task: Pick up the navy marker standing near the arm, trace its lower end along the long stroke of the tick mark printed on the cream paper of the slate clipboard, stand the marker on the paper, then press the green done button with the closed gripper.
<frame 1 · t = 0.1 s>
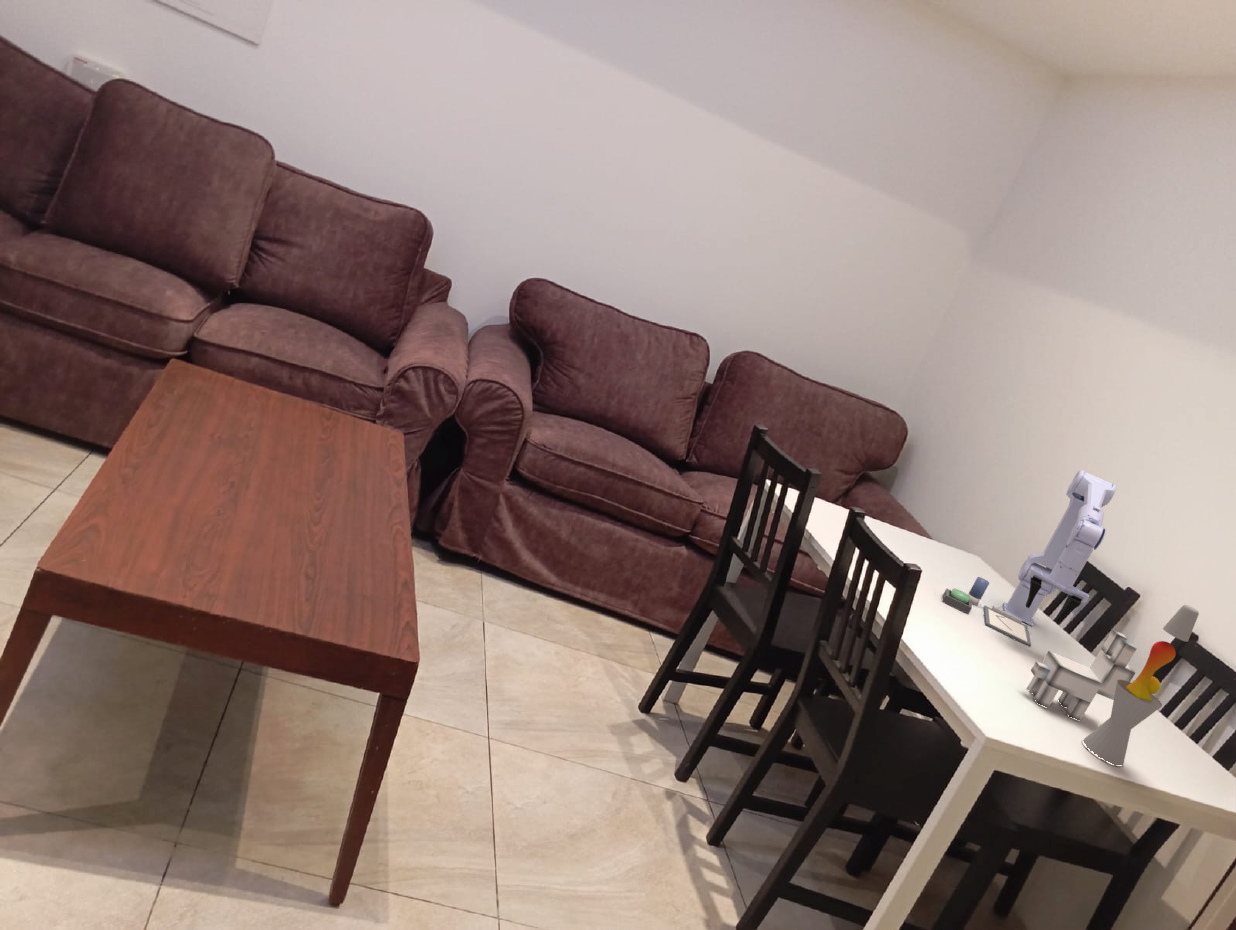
hand: (1042, 613, 254), 10 cm above the table, fingers open, 7 cm apart
lava lamp: (1101, 754, 210), on the table
done button: (959, 596, 268), point 2 cm above the table, slide at 0.0 cm
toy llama: (1057, 707, 226), on the table
marker: (971, 602, 277), on the table
clipboard: (1006, 626, 268), on the table
button housing: (955, 604, 269), on the table
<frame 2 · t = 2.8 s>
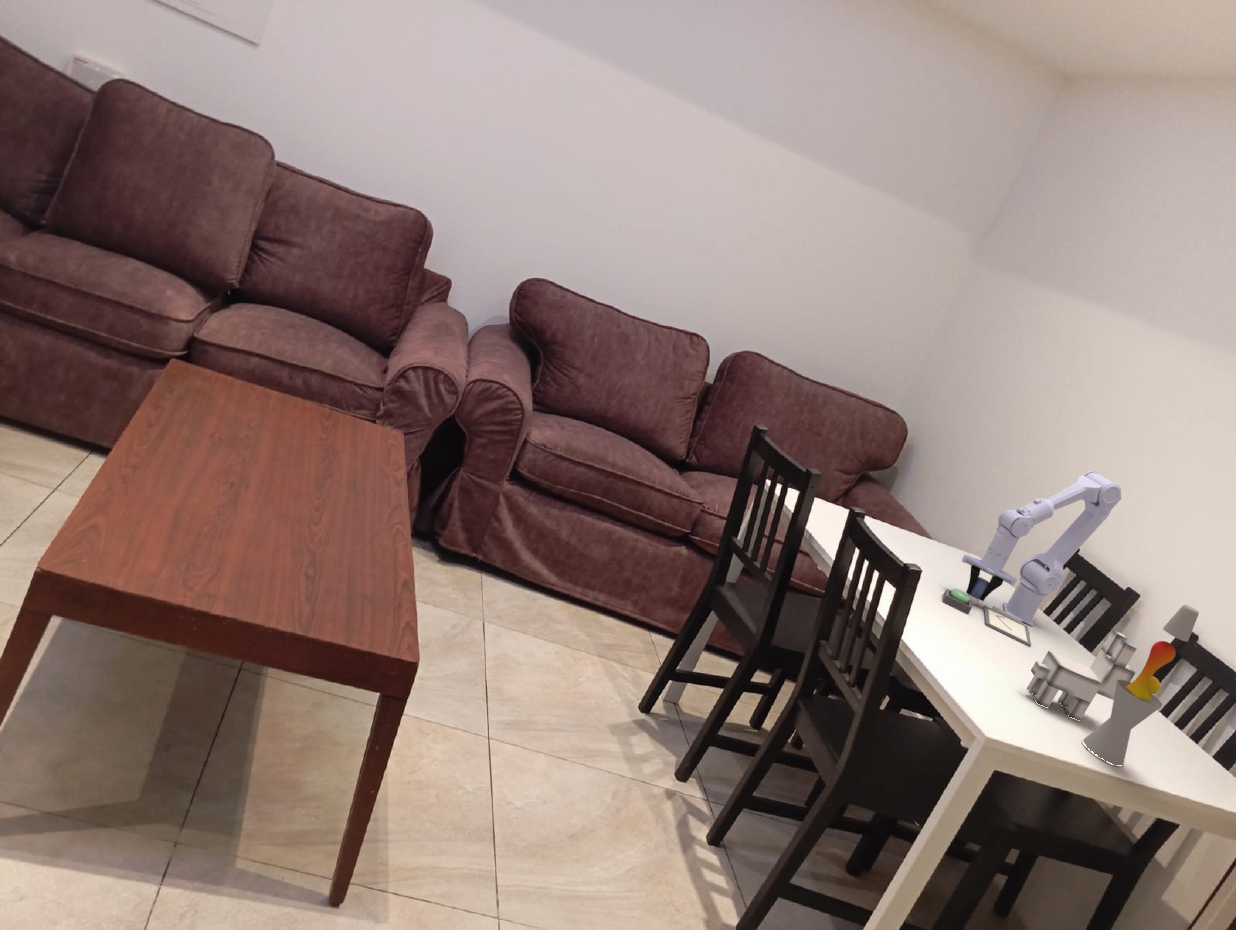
hand: (974, 596, 276), 2 cm above the table, fingers closed on marker, 3 cm apart
marker: (971, 602, 277), on the table, touching gripper
everything else where it was.
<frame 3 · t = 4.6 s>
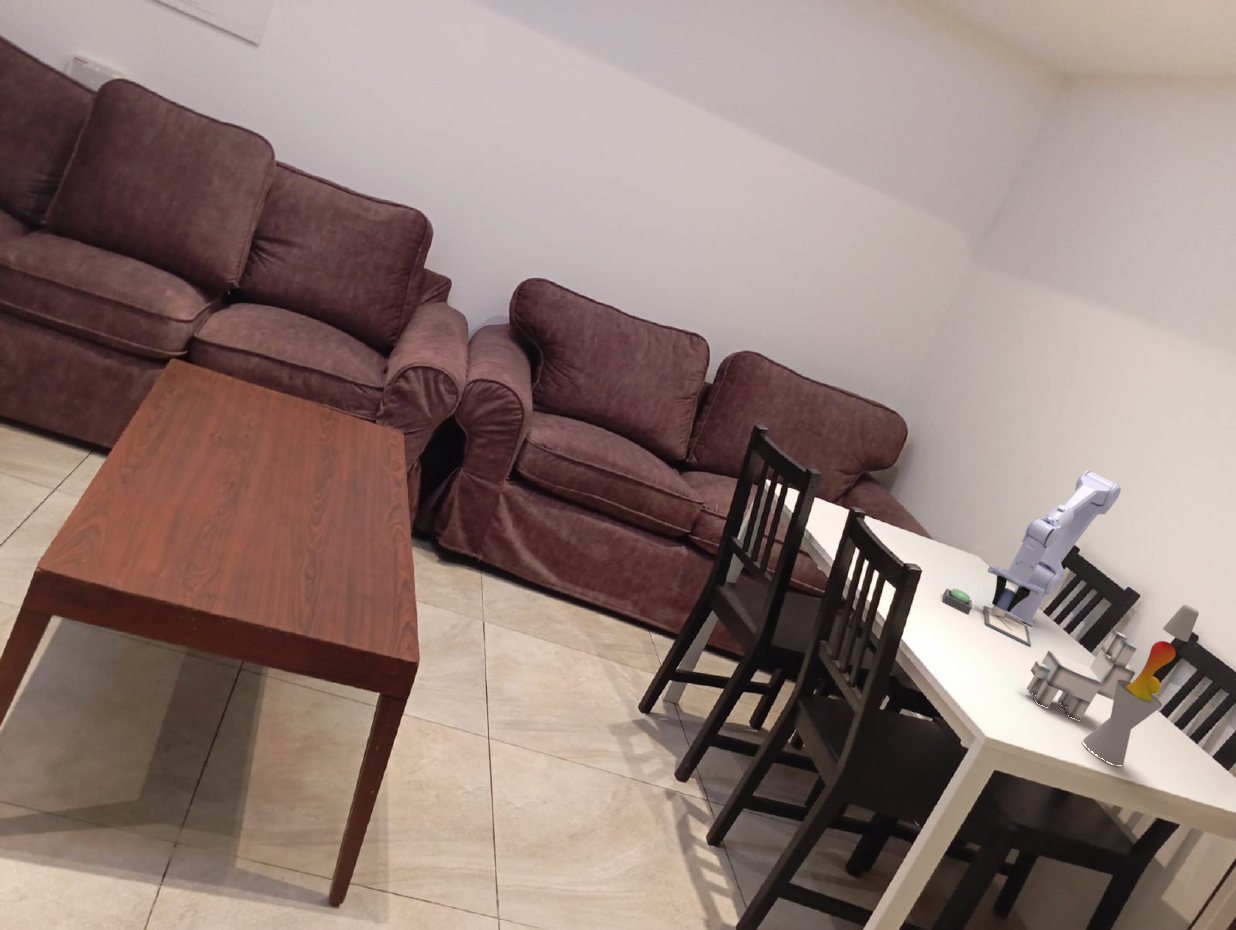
hand: (1000, 607, 271), 3 cm above the table, fingers closed on marker, 3 cm apart
marker: (997, 613, 271), point 1 cm above the table, touching gripper
everything else where it was.
when the fingers open (3 cm above the table, at t = 6.8 s): marker stays where it is, resting on clipboard.
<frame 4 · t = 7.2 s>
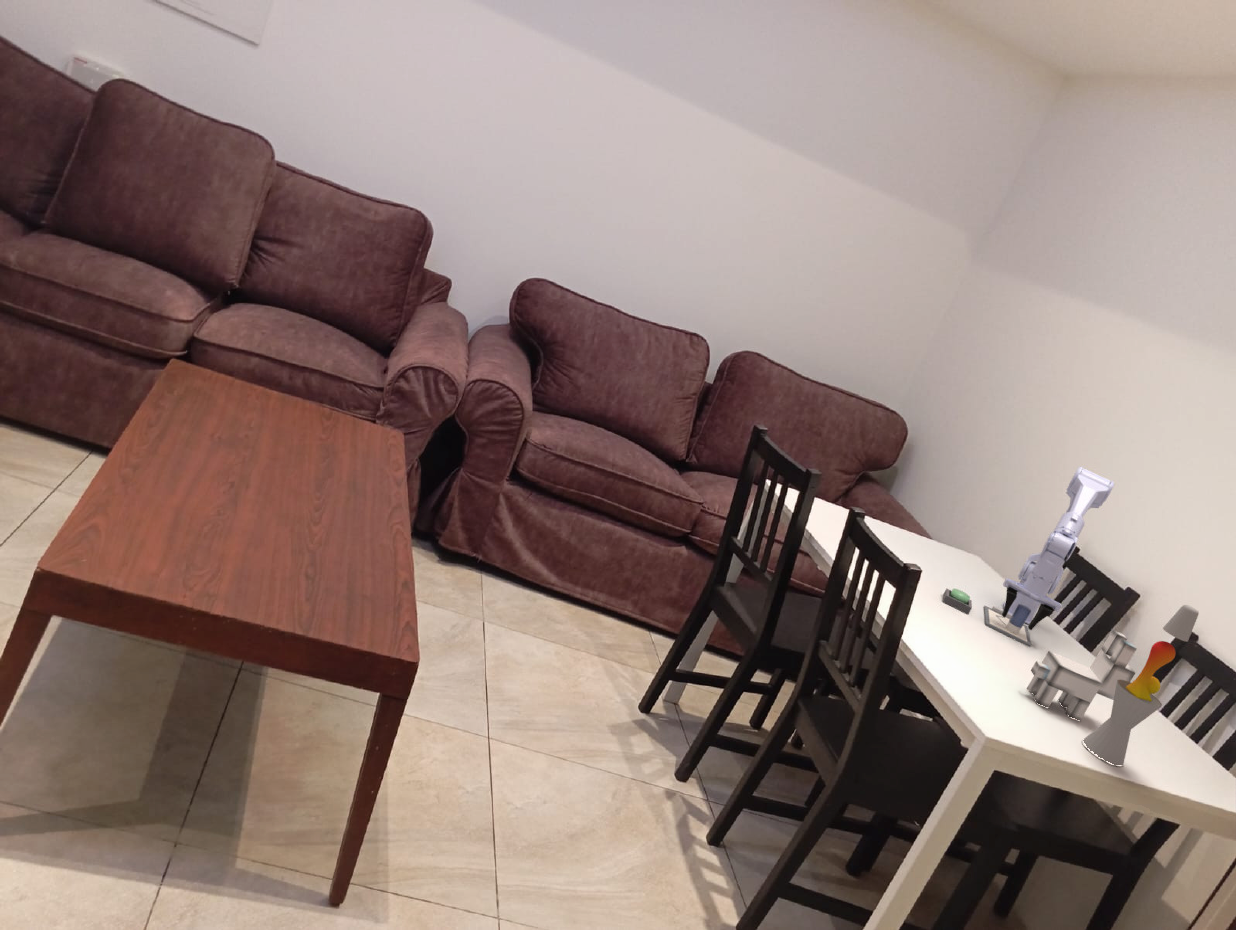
hand: (1016, 622, 263), 3 cm above the table, fingers open, 6 cm apart
marker: (1011, 630, 264), point 1 cm above the table, touching clipboard
everything else where it was.
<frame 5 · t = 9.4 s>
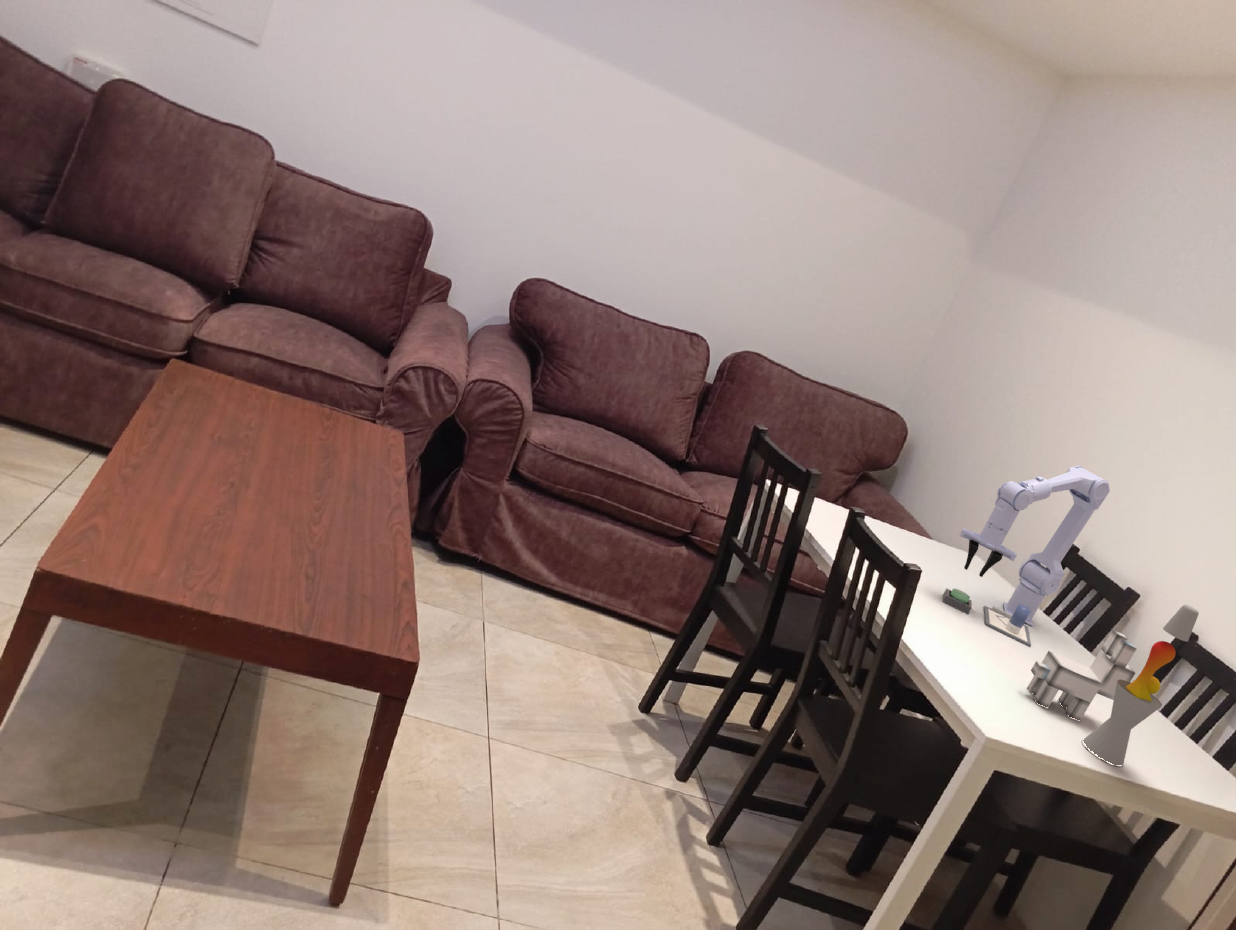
hand: (973, 572, 266), 10 cm above the table, fingers open, 3 cm apart
nothing on the table moved.
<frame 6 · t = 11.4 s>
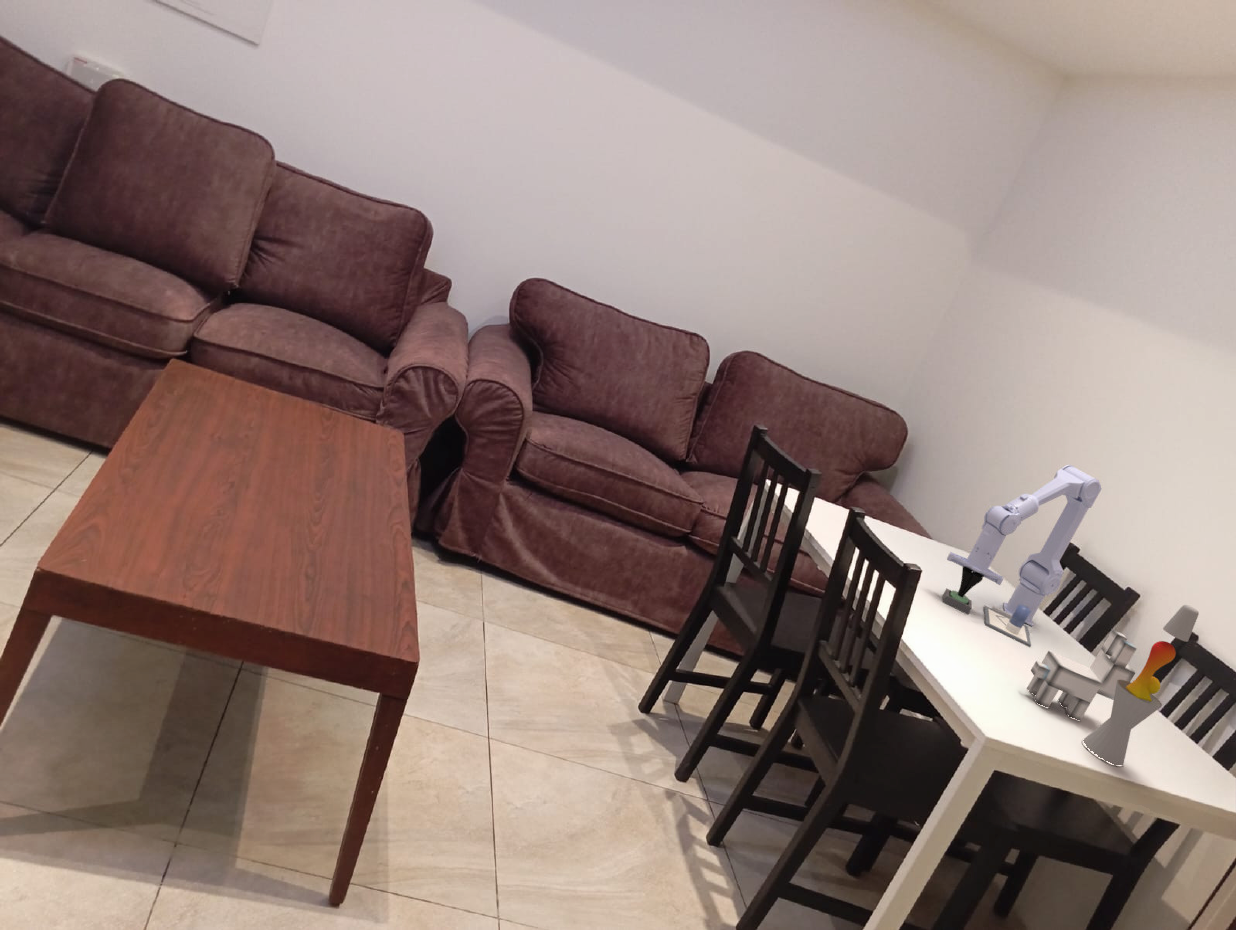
hand: (960, 595, 268), 3 cm above the table, fingers closed, pressing on done button
done button: (958, 598, 269), point 2 cm above the table, slide at -0.6 cm, touching gripper
everything else where it was.
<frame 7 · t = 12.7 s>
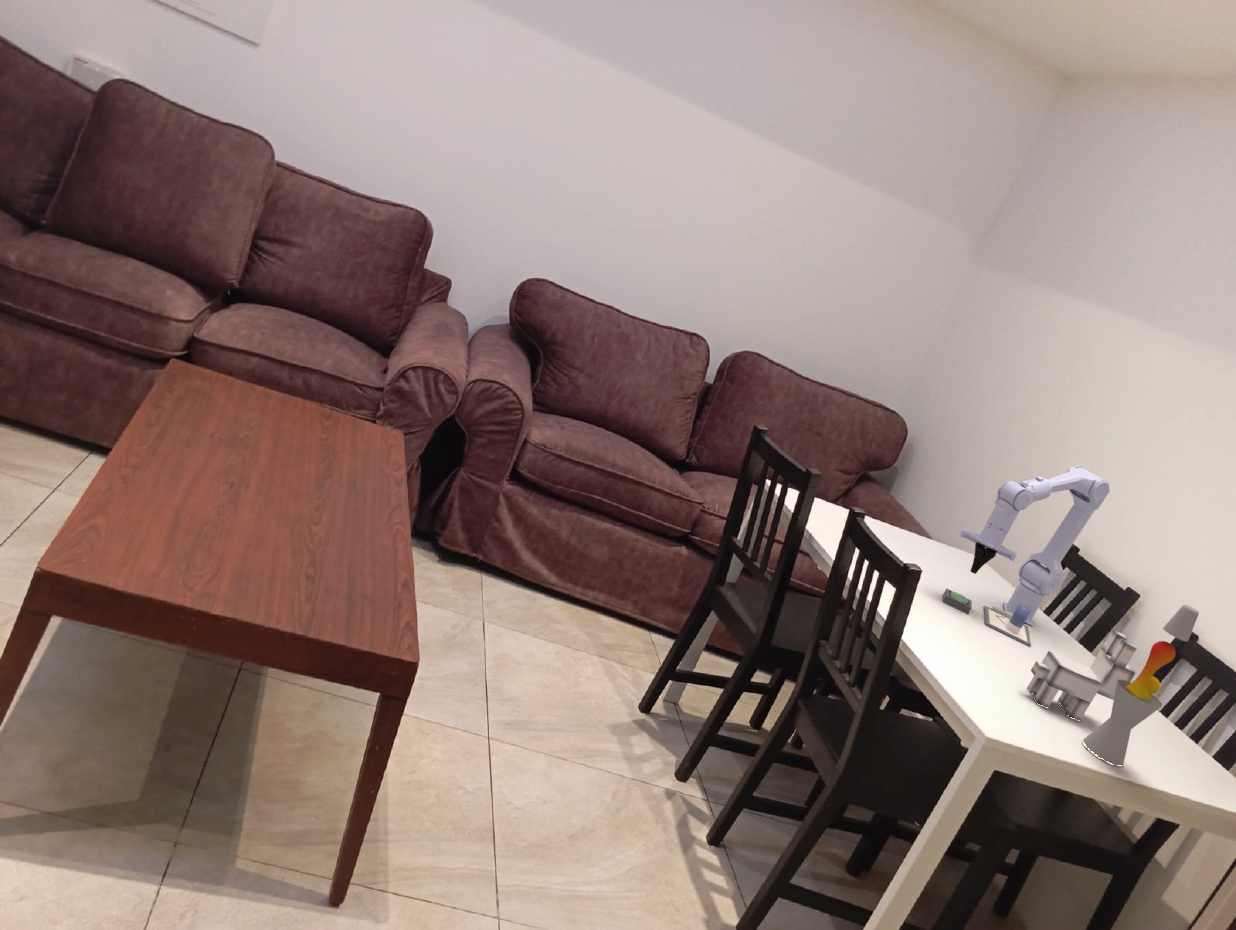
hand: (973, 572, 266), 10 cm above the table, fingers closed
done button: (958, 599, 269), point 1 cm above the table, slide at -0.9 cm
everything else where it was.
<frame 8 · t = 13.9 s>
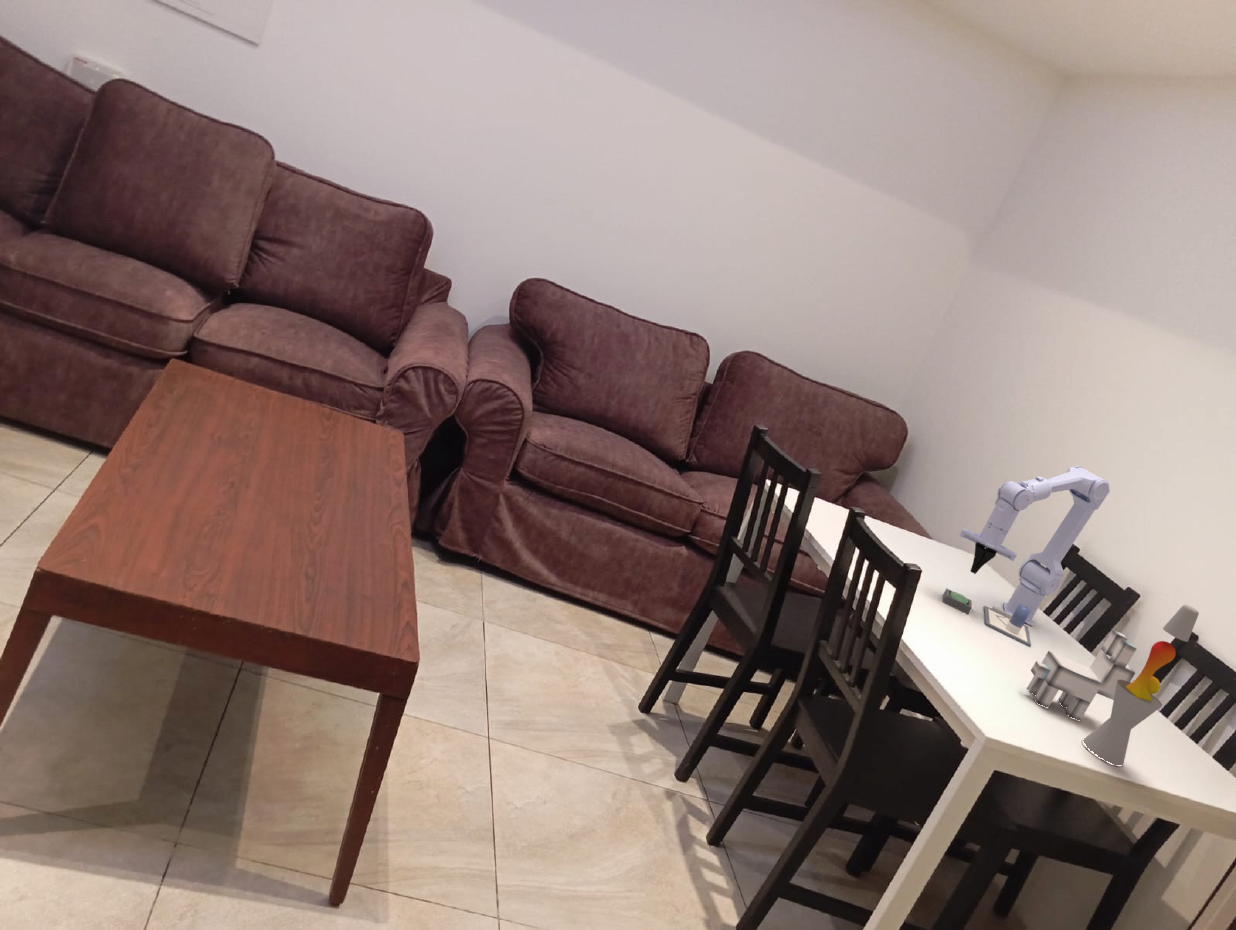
hand: (973, 572, 266), 10 cm above the table, fingers closed
nothing on the table moved.
at the end: marker inside the target area on the clipboard (3.3 cm from its centre), point 0.7 cm above the clipboard's base; marker tilted 1°; done button slide at -0.9 cm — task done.
